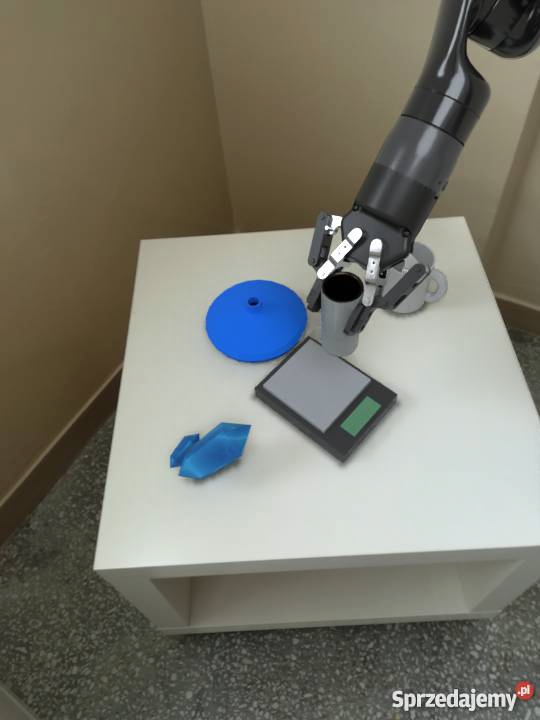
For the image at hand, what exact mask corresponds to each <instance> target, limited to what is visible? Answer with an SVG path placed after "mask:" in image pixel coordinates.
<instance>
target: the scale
mask: <svg viewBox="0 0 540 720" xmlns="http://www.w3.org/2000/svg"><path fill="white" fill-rule="evenodd" d="M254 394H255V397H256V398H257V399H259V400H260V401H261V402H263V403H264V404H265V405H267V406H268V407H269V408H270V409H272V410H273V411H274V412H276V413H277V414H278V415H279V416H281V417H282V418H283V419H285V420H286V421H287V422H288V423H289V424H291V425H293V426H294V428H296V429H298V430H299V431H300V432H302V433H303V434H304V435H305V436H307V437H308V438H310V440H312V441H313V442H315V443H316V444H317V445H319V446H320V447H321V448H322V449H324V450H325V451H326V452H327V453H329V455H332V457H334V458H336V459H337V460H338V461H339V462H341V463H342V464H344V463H345V462H346V461H347V460H348V459H349V458H350V456H352V454H353V453H354V451H355V450H356V449H357V448H358V447H359V446H360V445H361V444H362V442H363V441H365V439H367V436H368V435H369V434H370V433H371V432H372V431H373V430H374V428H376V426H377V425H378V424H379V423H380V422H381V421H382V419H383V418H384V417H385V416H386V415H387V414H388V413H389V411H390V410H391V409H392V408H393V407H394V406H395V404H396V402H397V399H398V393H396V392H395V391H393V390H392V389H390V388H388V387H387V386H386V385H384V384H383V383H382V382H380V381H378V380H377V379H376V378H374V377H372V376H371V375H370V374H368V373H366V372H365V371H363V370H362V369H360V368H358V367H357V366H356V365H354V364H353V363H351V362H349V361H348V360H347V359H345V358H344V357H335V356H332V355H330V354H328V353H327V352H325V350H324V349H323V348H322V345H321V342H320V341H318V340H316V339H315V338H314V337H312V336H310V335H307V337H305V338H304V339H303V340H302V341H301V342H300V343H299V344H297V345H296V346H295V347H294V348H293V349H292V350H291V351H290V352H289V354H288V355H287V356H286V357H284V358H283V359H282V361H280V362H279V363H278V364H277V365H276V366H275V367H274V368H273V369H272V370H271V371H270V372H269V373H268V374H267V375H266V376H265V377H264V378H263V379H262V380H261V381H259V383H257V384H256V385H255V387H254Z"/></svg>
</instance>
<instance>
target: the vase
mask: <svg viewBox="0 0 540 720" xmlns="http://www.w3.org/2000/svg"><path fill="white" fill-rule="evenodd" d="M307 324H308V312H307V306H306V305H305V303H304V301H303V300H302V298H301V297H300V296H299V295H298V294H297V292H296V291H294V290H293V289H291V288H290V287H288V286H286V285H285V284H283V283H279V282H276V281H273V280H266V279H252V280H245V281H243V282H238V283H236V284H234V285H232V286H230V287H228V288H226V289H224V290H223V291H222V292H221V293H220V294H219V295H217V296H216V297H215V298H214V300H213V301H212V303H211V304H210V305H209V307H208V309H207V311H206V315H205V331H206V335H207V337H208V340H209V341H210V342H211V344H212V345H213V346H214V348H215V349H216V350H217V351H219V352H220V353H221V354H223V355H224V356H225V357H227V358H228V359H231V360H234V361H237V362H240V363H245V364H263V363H268V362H271V361H274V360H277V359H280V358H281V357H283V356H285V355H286V354H288V353H290V352H291V351H292V350H293V349H294V348H295V347H296V346H297V345H298V343H299V341H300V340H301V338H302V337H303V334H304V333H305V331H306V328H307Z"/></svg>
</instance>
